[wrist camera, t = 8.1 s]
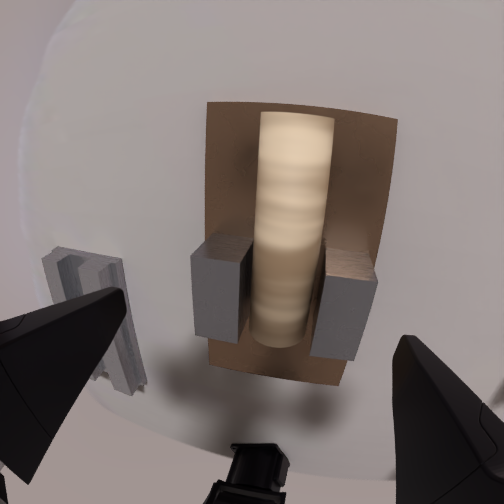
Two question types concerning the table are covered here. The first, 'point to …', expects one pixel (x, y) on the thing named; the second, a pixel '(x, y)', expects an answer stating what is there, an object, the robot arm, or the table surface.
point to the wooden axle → (288, 223)
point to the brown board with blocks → (331, 250)
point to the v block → (87, 281)
